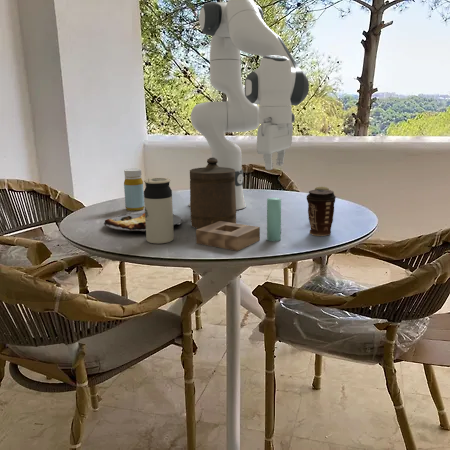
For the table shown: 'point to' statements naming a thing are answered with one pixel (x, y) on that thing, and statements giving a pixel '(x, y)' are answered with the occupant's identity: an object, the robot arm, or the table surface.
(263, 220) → the table surface
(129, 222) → the food plate
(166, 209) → the travel mug
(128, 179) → the bottle
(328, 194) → the coffee cup
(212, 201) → the wooden container
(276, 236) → the peg
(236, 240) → the socket block
